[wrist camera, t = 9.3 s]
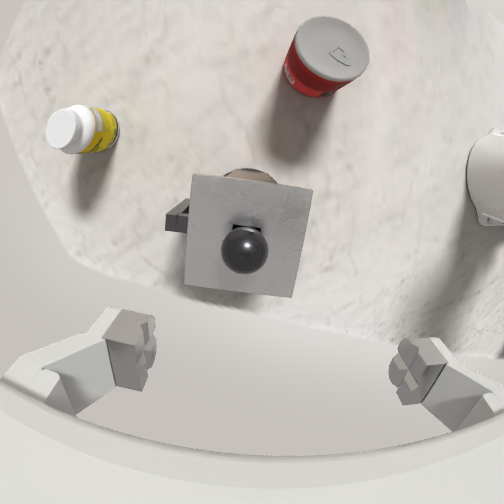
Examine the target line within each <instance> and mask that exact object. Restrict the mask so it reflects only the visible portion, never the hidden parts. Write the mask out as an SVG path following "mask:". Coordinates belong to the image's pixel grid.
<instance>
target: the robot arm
mask: <svg viewBox="0 0 504 504" xmlns="http://www.w3.org/2000/svg"><path fill="white" fill-rule="evenodd" d="M467 183H468V189H469V193H470V196H471V199H472V201H473V203H474V205H475V207H476V210H477V216H478V222H479V224H480V225H483V226H504V132H503V131H502V130H501V129H500V128H499V127H493V128H492V129H491V131H490V132H489V134H488V135H486V136H484V137H482V138H480V139H479V140H478V141H477V142H476V143H475V145H474V146H473V148H472V150H471V153H470V156H469V160H468V167H467ZM154 329H155V318H154V316H152V315H147V314H143V313H138V312H133V311H129V310H123V309H119V308H115V307H107V308H106V309H105V310H104V312H103V313H102V314H101V315H100V316H99V318H98V319H97V320H96V322H95V323H94V324H93V325H92V326H91V328H90V329H89V330H88V331H87V333H86V334H84V333H80V334H77V335H75V336H72V337H69V338H67V339H64V340H62V341H59V342H56V343H54V344H51V345H48V346H46V347H43V348H40V349H38V350H35V351H32V352H30V353H27V354H24V355H22V356H20V357H19V358H18V359H17V360H16V361H15V363H14V364H13V365H12V366H11V367H10V369H9V370H8V371H7V372H6V373H5V374H4V376H3V377H2V378H1V379H0V504H504V386H503V385H501V384H499V383H498V382H496V381H494V380H492V379H490V378H489V377H487V376H485V375H483V374H481V373H480V372H478V371H476V370H474V369H473V368H471V367H469V366H468V365H466V364H464V363H462V362H458V361H457V359H456V358H455V357H454V356H453V354H452V353H451V352H450V351H449V349H448V348H447V347H446V346H445V344H444V343H443V342H442V341H441V340H440V338H437V337H428V338H407V339H403V340H402V341H401V342H400V344H399V346H398V352H399V353H398V354H397V355H396V356H395V357H393V359H392V361H391V363H390V365H389V378H390V380H391V382H392V384H394V385H395V386H396V387H398V388H397V391H396V393H397V395H398V396H399V398H400V400H401V402H402V405H409V404H418V403H422V405H423V406H424V407H425V408H426V409H427V410H428V411H430V412H431V413H432V414H433V415H434V416H435V417H436V418H438V419H439V420H440V421H441V422H442V423H443V424H444V425H445V426H447V427H448V428H449V429H450V430H451V431H452V432H451V433H447V434H444V435H440V436H437V437H433V438H429V439H425V440H421V441H417V442H413V443H408V444H404V445H399V446H394V447H388V448H382V449H376V450H369V451H362V452H354V453H344V454H332V455H316V456H261V455H260V456H259V455H244V454H232V453H222V452H214V451H205V450H199V449H193V448H186V447H180V446H175V445H170V444H165V443H160V442H156V441H152V440H147V439H143V438H140V437H136V436H132V435H128V434H125V433H121V432H118V431H114V430H111V429H108V428H105V427H102V426H99V425H96V424H93V423H90V422H88V421H85V420H82V419H79V418H77V416H76V414H77V413H79V412H80V411H82V410H83V409H85V408H86V407H88V406H89V405H91V404H92V403H94V402H95V401H96V400H98V399H99V398H101V397H102V396H104V395H105V394H107V393H108V392H110V391H111V390H112V389H114V388H115V387H116V386H119V387H124V388H128V389H132V390H137V391H142V390H143V387H144V385H145V383H146V380H147V377H148V373H147V369H149V368H151V367H152V365H153V363H154V360H155V355H156V338H155V337H154V335H153V332H154Z"/></svg>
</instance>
